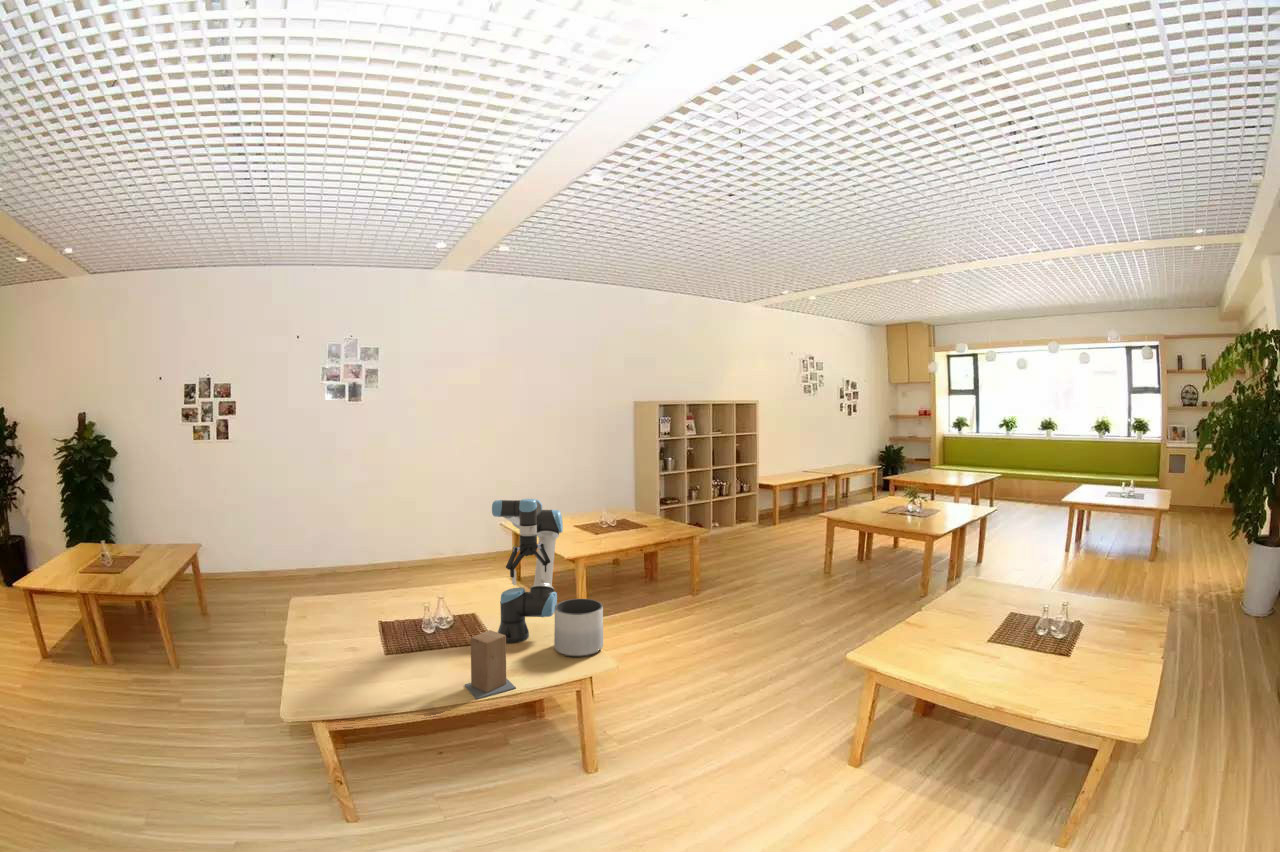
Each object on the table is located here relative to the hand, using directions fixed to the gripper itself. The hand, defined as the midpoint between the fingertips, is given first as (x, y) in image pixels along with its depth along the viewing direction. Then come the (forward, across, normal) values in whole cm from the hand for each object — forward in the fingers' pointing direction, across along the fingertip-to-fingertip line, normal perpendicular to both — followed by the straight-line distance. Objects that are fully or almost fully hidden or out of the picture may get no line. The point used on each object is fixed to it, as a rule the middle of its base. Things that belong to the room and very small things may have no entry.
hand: (528, 582), depth 270 cm
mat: (+35, -24, -16) cm, 45 cm away
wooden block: (+34, -24, -15) cm, 45 cm away
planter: (+35, +24, -2) cm, 42 cm away
